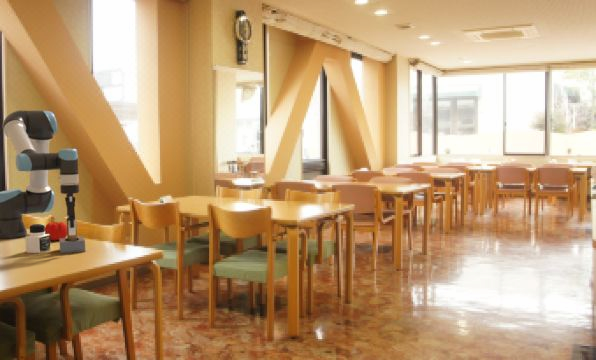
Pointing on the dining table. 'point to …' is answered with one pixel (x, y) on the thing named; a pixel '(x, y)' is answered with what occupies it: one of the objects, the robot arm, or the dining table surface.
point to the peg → (72, 237)
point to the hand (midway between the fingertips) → (71, 232)
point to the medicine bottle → (37, 239)
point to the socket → (72, 245)
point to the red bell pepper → (56, 230)
